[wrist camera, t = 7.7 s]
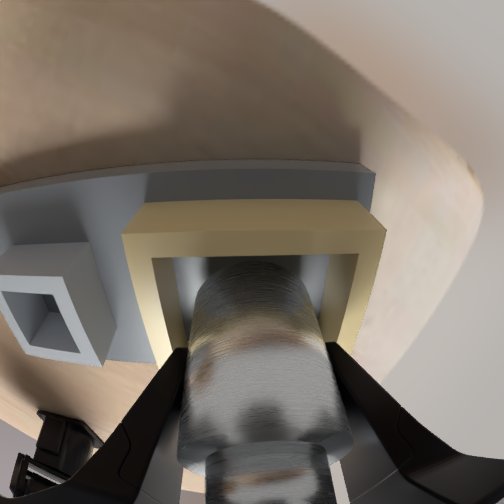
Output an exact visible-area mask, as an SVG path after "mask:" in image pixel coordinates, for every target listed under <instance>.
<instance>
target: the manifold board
mask: <svg viewBox="0 0 504 504" xmlns="http://www.w3.org/2000/svg"><path fill="white" fill-rule="evenodd" d="M375 175H376V173H374V172H373V171H371V170H370V169H368V168H366V167H365V166H363V165H362V164H357V163H344V162H328V161H307V160H265V159H247V160H205V161H184V162H168V163H155V164H143V165H132V166H123V167H114V168H105V169H97V170H90V171H83V172H76V173H70V174H63V175H57V176H52V177H46V178H41V179H35V180H30V181H25V182H21V183H16V184H11V185H7V186H2V187H0V310H1V312H2V314H3V316H4V318H5V320H6V322H7V323H8V325H9V327H10V329H11V330H12V332H13V334H14V336H15V337H16V339H17V341H18V342H19V344H20V346H21V347H22V349H23V350H24V352H25V354H27V355H32V356H37V357H42V358H47V359H52V360H57V361H63V362H69V363H75V364H82V365H89V366H96V367H103V365H104V362H105V360H114V361H125V362H137V363H152V364H157V365H158V368H159V369H160V368H161V367H162V365H163V364H164V363H165V361H166V360H167V359H168V357H169V356H170V355H171V353H172V352H173V351H174V349H175V348H177V347H187V348H188V346H189V338H190V331H191V324H192V317H193V311H194V304H195V299H196V295H197V293H198V291H199V289H200V287H201V286H202V284H203V283H204V282H205V281H206V280H207V279H208V278H209V277H210V276H211V275H213V274H214V273H215V272H217V271H219V270H220V269H223V268H225V267H227V266H230V265H233V264H236V263H241V262H249V261H262V262H269V263H273V264H277V265H280V266H282V267H284V268H286V269H288V270H290V271H292V272H293V273H294V274H296V275H297V276H298V277H299V278H300V279H301V280H302V282H303V283H304V285H305V286H306V288H307V291H308V293H309V296H310V299H311V302H312V305H313V308H314V311H315V314H316V317H317V320H318V324H319V327H320V330H321V333H322V336H323V339H324V342H331V341H335V342H337V343H338V344H339V345H340V346H341V347H342V348H343V349H344V350H345V351H346V352H347V353H348V354H349V355H351V353H352V350H353V347H354V344H355V341H356V338H357V335H358V333H359V330H360V327H361V323H362V320H363V317H364V314H365V311H366V308H367V304H368V301H369V298H370V294H371V291H372V287H373V284H374V280H375V276H376V273H377V269H378V265H379V261H380V257H381V253H382V249H383V245H384V240H385V236H386V231H387V230H386V229H385V227H384V226H383V225H382V224H381V223H380V222H379V221H378V220H377V219H376V218H375V217H374V216H373V215H372V214H371V213H370V208H371V202H372V196H373V189H374V182H375Z"/></svg>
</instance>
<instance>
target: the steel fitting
mask: <svg viewBox="0 0 504 504" xmlns="http://www.w3.org/2000/svg"><path fill="white" fill-rule="evenodd" d="M353 444H354V441H353V437H352V433H351V429H350V426H349V422H348V419H347V415H346V412H345V408H344V405H343V401H342V398H341V394H340V391H339V388H338V384H337V381H336V378H335V374H334V371H333V368H332V365H331V361H330V358H329V355H328V352H327V349H326V345H325V342H324V339H323V336H322V333H321V330H320V327H319V324H318V320H317V317H316V314H315V311H314V308H313V305H312V302H311V299H310V296H309V293H308V291H307V288H306V286H305V285H304V283H303V282H302V280H301V279H300V278H299V277H298V276H297V275H296V274H294V273H293V272H292V271H290V270H288V269H286V268H284V267H282V266H280V265H277V264H273V263H269V262H262V261H249V262H241V263H236V264H233V265H230V266H227V267H225V268H223V269H220V270H219V271H217V272H215V273H214V274H213V275H211V276H210V277H209V278H208V279H207V280H206V281H205V282H204V283H203V284H202V286H201V287H200V289H199V291H198V293H197V295H196V299H195V304H194V311H193V317H192V324H191V331H190V338H189V346H188V353H187V361H186V369H185V377H184V385H183V394H182V403H181V412H180V422H179V433H178V444H177V460H178V462H179V463H180V464H181V465H182V466H183V467H184V468H186V469H187V470H189V471H191V472H193V473H196V474H199V475H201V476H205V504H337V502H336V497H335V492H334V487H333V482H332V477H331V472H330V467H329V466H330V465H331V464H333V463H335V462H337V461H339V460H340V459H342V458H343V457H344V456H345V455H347V454H348V453H349V452H350V450H351V449H352V447H353Z"/></svg>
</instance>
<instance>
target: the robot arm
mask: <svg viewBox="0 0 504 504" xmlns="http://www.w3.org/2000/svg"><path fill="white" fill-rule="evenodd" d="M325 345H326V349H327V352H328V355H329V358H330V361H331V365H332V368H333V371H334V374H335V378H336V381H337V384H338V388H339V391H340V394H341V398H342V401H343V405H344V408H345V412H346V415H347V419H348V422H349V426H350V429H351V433H352V437H353V441H354V444H353V447H352V449H351V450H350V452H349V453H348V454H347V455H345V456H344V457H343V458H342V459H340V464H341V468H342V472H343V476H344V480H345V484H346V488H347V492H348V497H349V501H350V504H504V460H503V459H493V458H484V457H477V456H470V455H465V454H463V453H460V452H458V451H456V450H455V449H453V448H452V447H450V446H449V445H448V444H446V443H445V442H444V441H442V440H441V439H440V438H438V437H437V436H436V435H434V434H433V433H431V432H430V431H429V430H428V429H427V428H425V427H424V426H423V425H421V424H420V423H419V422H418V421H417V420H416V419H415V418H414V417H413V416H411V415H410V414H409V413H408V412H407V411H406V410H405V409H404V408H403V407H401V405H400V404H399V403H398V402H397V401H396V400H395V399H394V398H393V397H392V396H391V395H390V394H389V393H388V392H387V391H385V389H384V388H383V387H382V386H381V385H380V384H379V383H378V382H377V381H375V380H374V379H373V378H372V377H371V376H370V375H369V374H368V373H367V372H366V371H365V370H364V369H363V368H362V367H361V366H360V365H359V364H358V363H357V362H356V361H355V360H354V359H353V358H352V357H351V356H350V355H349V354H348V353H347V352H346V351H345V350H344V349H343V348H342V347H341V346H340V345H339V344H338V343H337V342H335V341H331V342H325ZM187 353H188V348H187V347H177V348H175V349H174V351H173V352H172V353H171V355H170V356H169V357H168V359H167V360H166V361H165V363H164V364H163V365H162V367H161V368H160V369H159V371H158V372H157V374H156V375H155V376H154V378H153V379H152V380H151V382H150V383H149V384H148V386H147V387H146V388H145V390H144V391H143V392H142V394H141V395H140V396H139V398H138V399H137V401H136V402H135V403H134V405H133V406H132V407H131V409H130V410H129V411H128V413H127V414H126V415H125V417H124V418H123V420H122V421H121V422H122V423H119V425H118V426H117V428H116V429H115V430H114V432H113V433H112V434H111V435H110V437H109V438H108V439H107V440H106V442H105V443H104V444H103V443H102V442H101V441H100V440H99V439H98V438H97V437H96V436H95V435H94V433H93V432H92V431H91V430H90V429H89V428H88V427H87V426H86V425H85V424H84V423H82V422H80V421H76V420H72V419H68V418H64V417H60V416H56V415H53V414H49V413H46V412H43V411H39V410H38V411H37V415H38V416H39V417H40V418H41V419H42V420H43V421H44V422H43V425H42V428H41V431H40V434H39V437H38V440H37V443H36V447H37V448H36V452H35V455H34V458H33V459H32V458H30V456H28V455H24V454H21V453H18V457H17V460H16V463H15V467H14V471H13V475H12V479H11V483H10V490H11V492H12V493H13V498H6V497H4V496H3V495H1V494H0V504H179V500H180V492H181V483H182V475H183V466H182V465H181V464H180V463H179V462H178V460H177V444H178V433H179V422H180V412H181V403H182V394H183V385H184V377H185V369H186V361H187ZM93 448H98V450H97V452H96V453H95V454H94V455H93V456H92V452H93ZM91 456H92V457H91ZM28 467H30V468H32V469H33V470H35V471H37V472H39V473H41V474H43V475H45V476H47V477H49V478H51V479H53V480H55V481H58V482H60V483H61V484H56V483H54V482H52V481H50V480H48V479H46V478H44V477H42V476H40V475H38V474H36V473H34V472H33V473H32V472H31V471H29V470H27V469H28ZM26 478H27V479H26Z"/></svg>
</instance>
